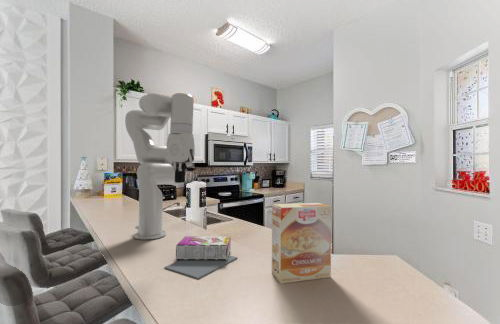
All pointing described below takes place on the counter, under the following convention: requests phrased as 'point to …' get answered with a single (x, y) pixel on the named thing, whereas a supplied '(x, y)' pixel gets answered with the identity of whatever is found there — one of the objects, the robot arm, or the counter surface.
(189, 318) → the counter surface
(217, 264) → the mat
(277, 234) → the coffeecake box
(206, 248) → the candy bar box
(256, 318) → the counter surface
